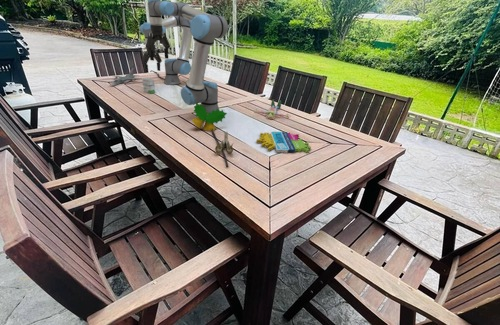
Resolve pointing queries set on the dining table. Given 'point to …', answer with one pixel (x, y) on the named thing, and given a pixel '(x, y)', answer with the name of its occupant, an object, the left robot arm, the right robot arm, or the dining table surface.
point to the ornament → (207, 117)
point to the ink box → (148, 85)
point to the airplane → (124, 78)
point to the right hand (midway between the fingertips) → (159, 59)
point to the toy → (272, 110)
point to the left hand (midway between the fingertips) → (153, 71)
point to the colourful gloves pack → (283, 142)
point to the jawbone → (224, 145)
